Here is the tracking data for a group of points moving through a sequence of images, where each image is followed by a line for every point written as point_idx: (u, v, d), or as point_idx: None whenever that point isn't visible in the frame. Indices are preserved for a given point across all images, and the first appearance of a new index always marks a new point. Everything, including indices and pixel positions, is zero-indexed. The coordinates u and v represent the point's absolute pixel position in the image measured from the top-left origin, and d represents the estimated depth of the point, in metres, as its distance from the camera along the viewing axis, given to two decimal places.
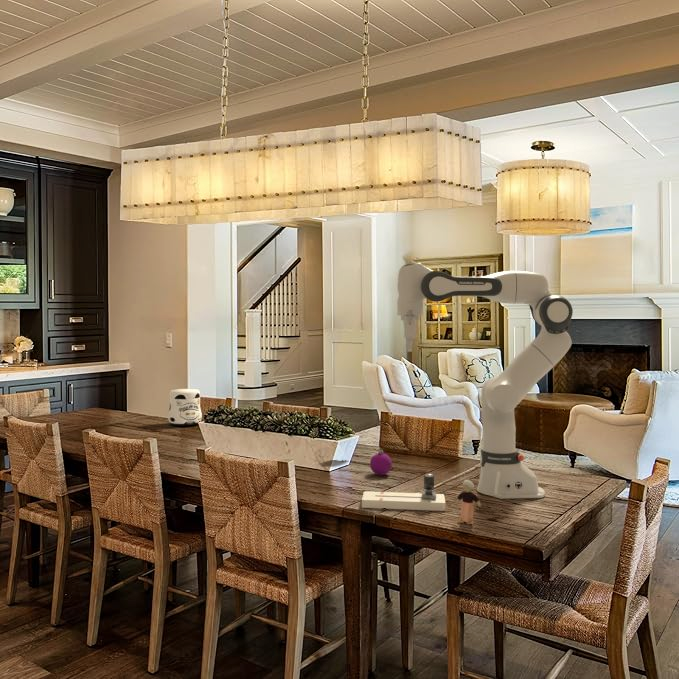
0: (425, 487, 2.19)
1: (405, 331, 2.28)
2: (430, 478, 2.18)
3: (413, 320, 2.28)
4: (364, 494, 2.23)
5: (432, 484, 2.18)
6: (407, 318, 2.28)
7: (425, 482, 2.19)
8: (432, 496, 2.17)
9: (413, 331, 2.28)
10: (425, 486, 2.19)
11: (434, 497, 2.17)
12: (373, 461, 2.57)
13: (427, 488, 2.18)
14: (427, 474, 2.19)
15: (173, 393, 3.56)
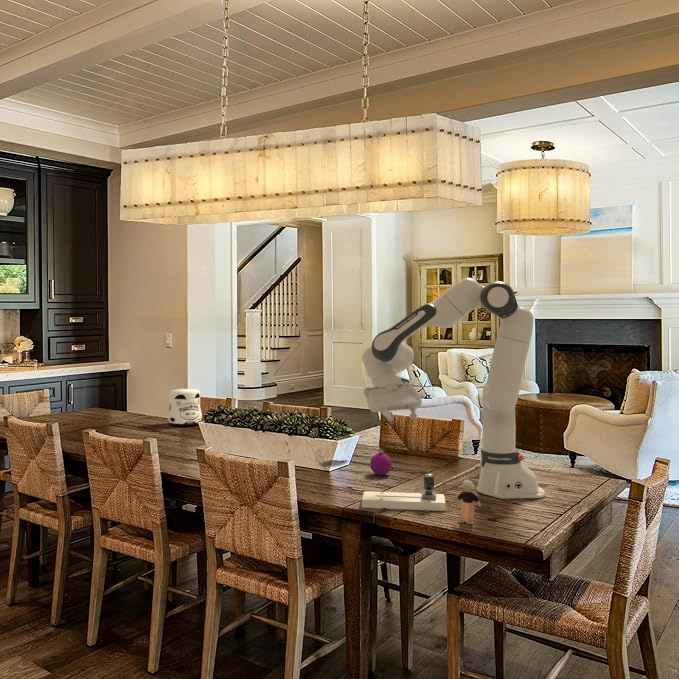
0: (425, 487, 2.19)
1: (369, 406, 2.33)
2: (430, 478, 2.18)
3: (369, 393, 2.33)
4: (364, 494, 2.23)
5: (432, 484, 2.18)
6: None
7: (425, 482, 2.19)
8: (432, 496, 2.17)
9: (371, 401, 2.31)
10: (425, 486, 2.19)
11: (434, 497, 2.17)
12: (373, 461, 2.57)
13: (427, 488, 2.18)
14: (427, 474, 2.19)
15: (173, 393, 3.56)
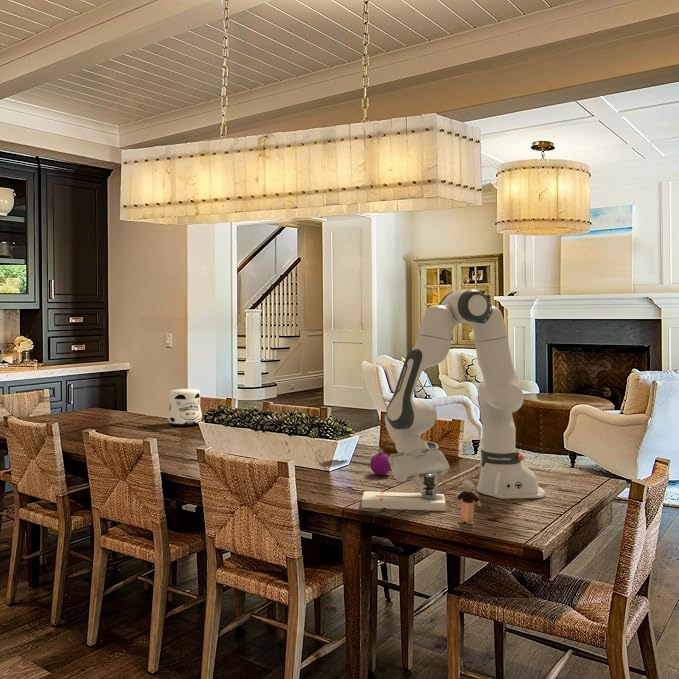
0: None
1: (394, 475, 2.19)
2: (430, 478, 2.18)
3: (394, 460, 2.20)
4: (364, 494, 2.23)
5: (432, 484, 2.18)
6: None
7: (425, 482, 2.19)
8: (432, 496, 2.17)
9: (397, 470, 2.17)
10: None
11: (434, 497, 2.17)
12: (373, 461, 2.57)
13: (427, 488, 2.18)
14: (427, 474, 2.19)
15: (173, 393, 3.56)
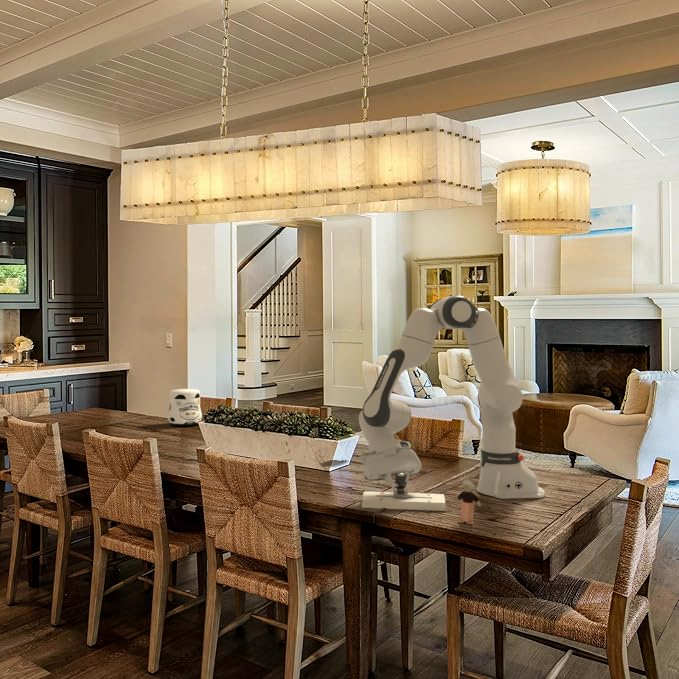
0: None
1: (365, 473, 2.20)
2: (401, 477, 2.19)
3: (365, 459, 2.21)
4: (364, 494, 2.23)
5: (403, 483, 2.19)
6: None
7: None
8: (403, 495, 2.18)
9: (368, 469, 2.18)
10: None
11: (405, 496, 2.18)
12: None
13: (398, 487, 2.19)
14: (399, 473, 2.20)
15: (173, 393, 3.56)
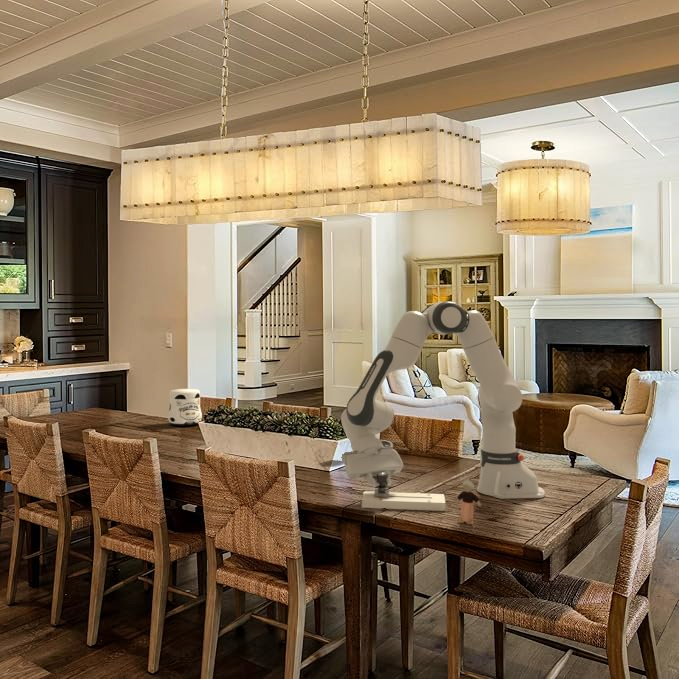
0: None
1: None
2: (382, 476, 2.19)
3: (347, 459, 2.21)
4: (364, 494, 2.23)
5: (385, 482, 2.20)
6: None
7: None
8: (384, 494, 2.19)
9: (349, 468, 2.19)
10: None
11: (386, 495, 2.19)
12: None
13: (380, 486, 2.20)
14: (380, 472, 2.21)
15: (173, 393, 3.56)
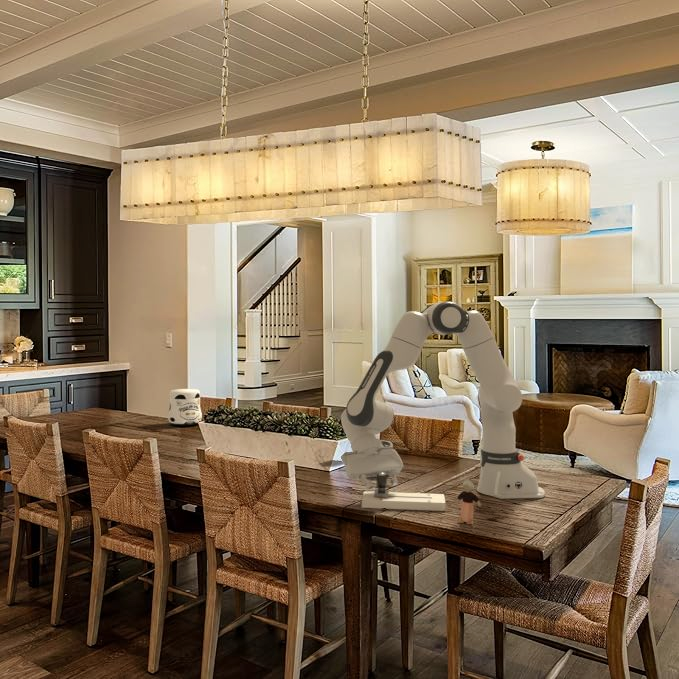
0: (377, 485, 2.20)
1: (346, 473, 2.21)
2: (382, 476, 2.19)
3: (347, 459, 2.21)
4: (364, 494, 2.23)
5: (384, 482, 2.20)
6: None
7: (377, 480, 2.20)
8: (384, 494, 2.19)
9: (349, 469, 2.19)
10: (377, 485, 2.20)
11: (386, 495, 2.19)
12: None
13: (379, 486, 2.20)
14: (380, 472, 2.21)
15: (173, 393, 3.56)
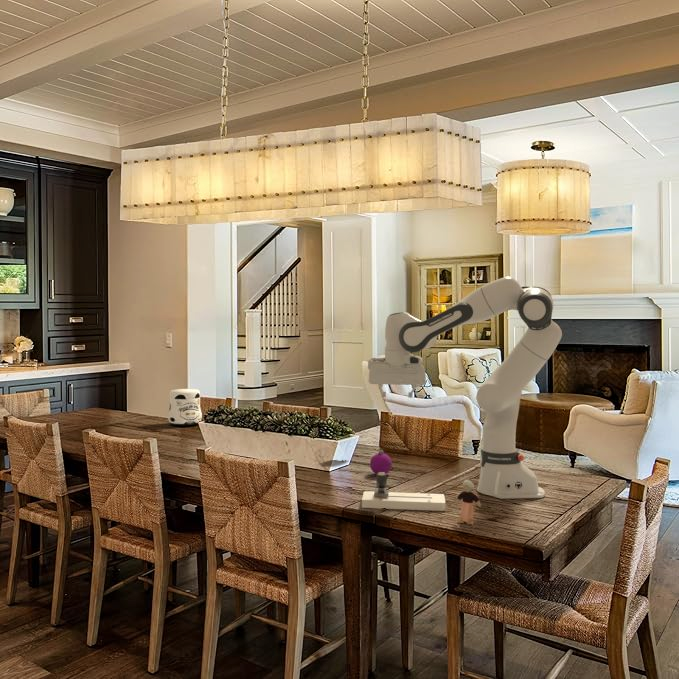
0: (377, 485, 2.20)
1: None
2: (382, 476, 2.19)
3: (370, 367, 2.44)
4: (364, 494, 2.23)
5: (384, 482, 2.20)
6: None
7: (377, 480, 2.20)
8: (384, 494, 2.19)
9: None
10: (377, 485, 2.20)
11: (386, 495, 2.19)
12: (373, 461, 2.57)
13: (379, 486, 2.20)
14: (380, 472, 2.21)
15: (173, 393, 3.56)
